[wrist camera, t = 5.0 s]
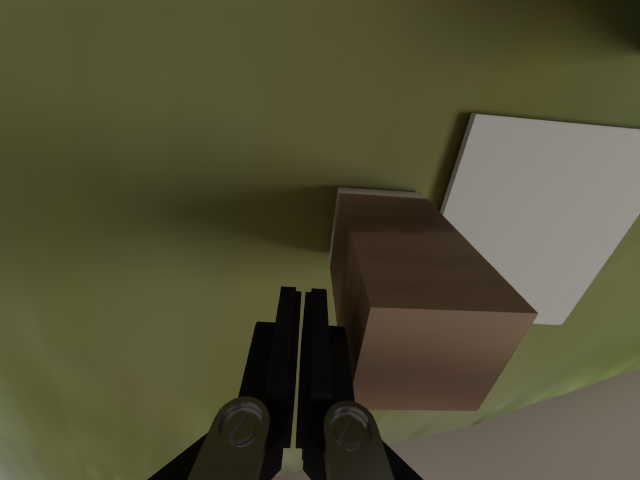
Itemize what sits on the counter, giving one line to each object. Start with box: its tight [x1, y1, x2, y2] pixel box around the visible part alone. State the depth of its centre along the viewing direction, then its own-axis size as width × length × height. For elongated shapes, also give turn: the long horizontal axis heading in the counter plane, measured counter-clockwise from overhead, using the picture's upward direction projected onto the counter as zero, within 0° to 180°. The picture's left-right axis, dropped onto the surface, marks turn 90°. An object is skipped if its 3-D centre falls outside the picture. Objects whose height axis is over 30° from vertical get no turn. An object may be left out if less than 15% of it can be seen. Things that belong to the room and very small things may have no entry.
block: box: [329, 187, 538, 411], centre depth 14 cm, size 5×5×10 cm
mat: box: [440, 113, 640, 325], centre depth 18 cm, size 14×12×1 cm
